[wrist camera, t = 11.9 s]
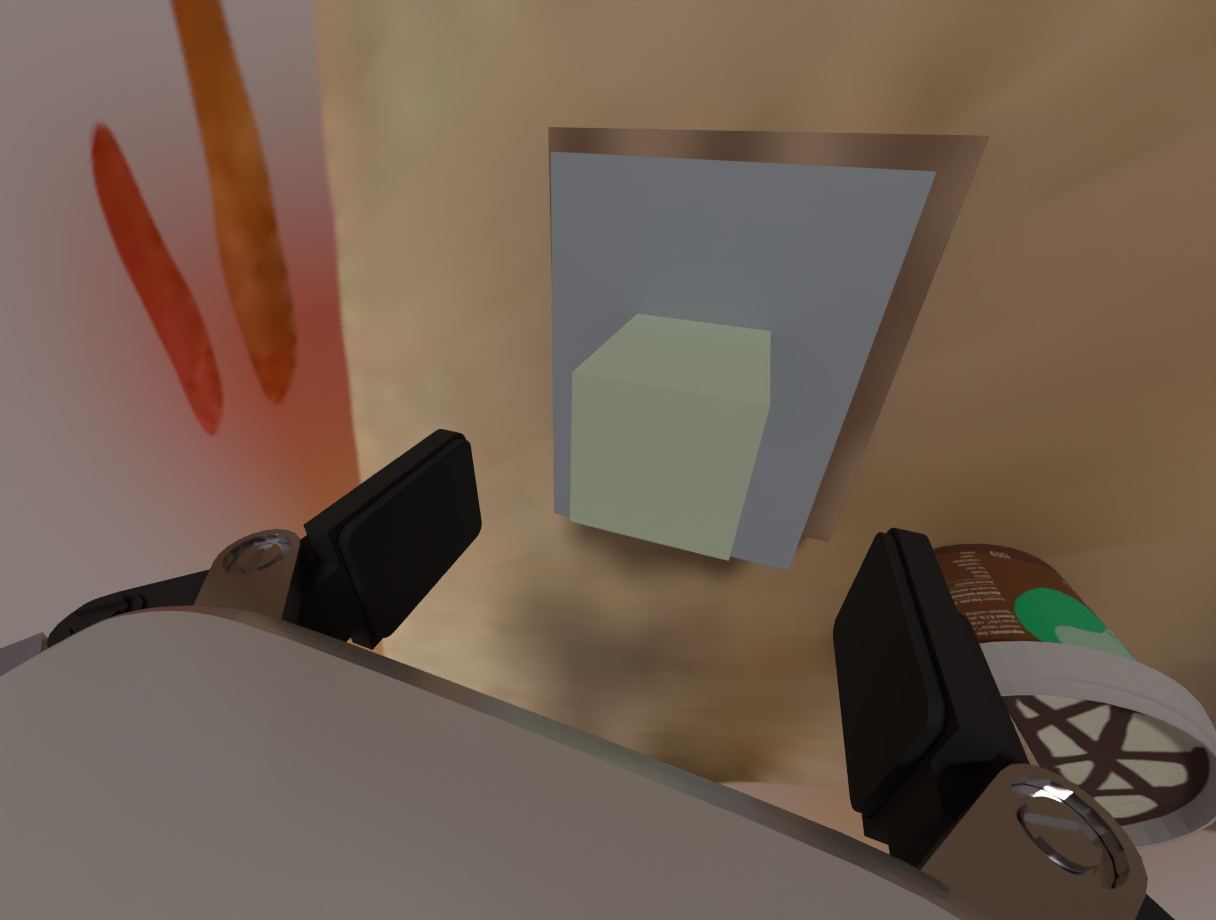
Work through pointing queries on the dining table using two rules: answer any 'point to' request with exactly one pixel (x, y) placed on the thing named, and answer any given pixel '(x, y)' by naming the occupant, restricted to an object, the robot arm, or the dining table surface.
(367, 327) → the dining table surface
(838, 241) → the top block
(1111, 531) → the dining table surface
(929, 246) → the base block
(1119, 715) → the food container
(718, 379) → the sage block
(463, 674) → the dining table surface
